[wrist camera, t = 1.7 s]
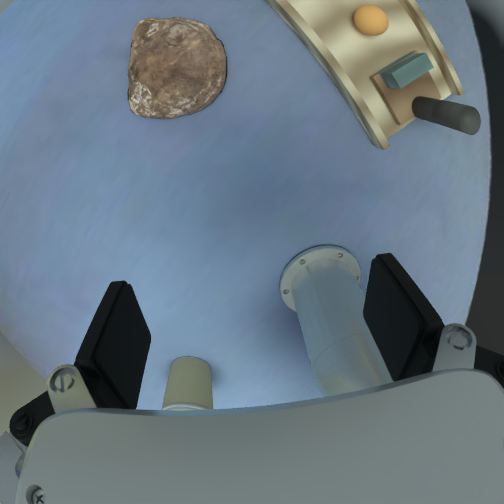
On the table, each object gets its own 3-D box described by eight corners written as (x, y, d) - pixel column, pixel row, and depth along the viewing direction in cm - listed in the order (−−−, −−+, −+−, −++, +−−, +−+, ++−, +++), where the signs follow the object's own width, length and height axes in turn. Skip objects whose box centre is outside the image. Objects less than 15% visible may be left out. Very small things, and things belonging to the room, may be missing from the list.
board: (451, 90, 29) (488, 97, 23) (373, 144, 34) (404, 160, 27) (325, -82, 16) (344, -107, 9) (223, -39, 20) (222, -67, 14)
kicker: (440, 103, 29) (495, 117, 20) (400, 130, 32) (452, 151, 22) (413, 50, 26) (468, 49, 17) (369, 77, 28) (420, 78, 19)
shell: (235, 21, 26) (236, 14, 22) (219, 122, 32) (218, 125, 29) (137, 19, 24) (128, 12, 21) (125, 117, 30) (114, 120, 27)
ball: (384, 30, 25) (401, 26, 21) (361, 42, 26) (377, 38, 23) (365, 4, 23) (380, -3, 20) (342, 16, 24) (355, 9, 21)
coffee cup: (159, 370, 54) (151, 422, 43) (180, 346, 50) (174, 403, 40) (199, 386, 57) (198, 435, 47) (224, 364, 53) (225, 419, 43)
